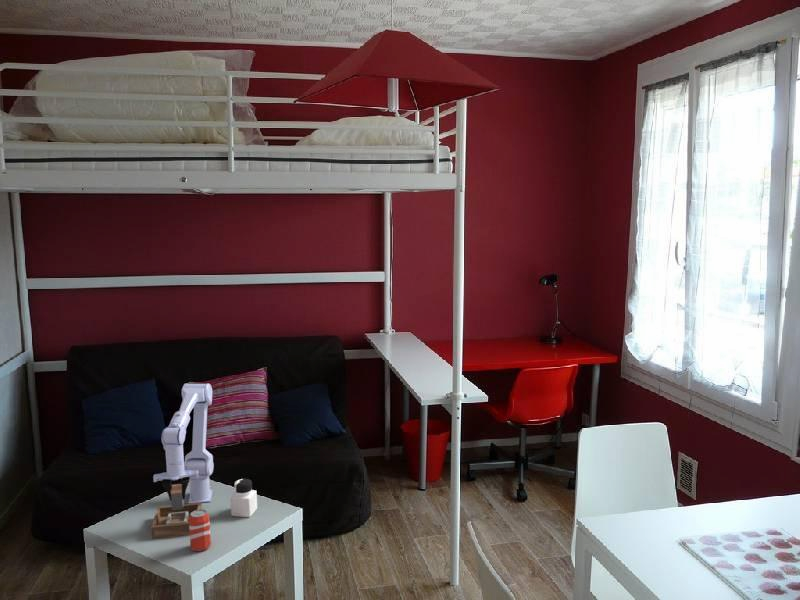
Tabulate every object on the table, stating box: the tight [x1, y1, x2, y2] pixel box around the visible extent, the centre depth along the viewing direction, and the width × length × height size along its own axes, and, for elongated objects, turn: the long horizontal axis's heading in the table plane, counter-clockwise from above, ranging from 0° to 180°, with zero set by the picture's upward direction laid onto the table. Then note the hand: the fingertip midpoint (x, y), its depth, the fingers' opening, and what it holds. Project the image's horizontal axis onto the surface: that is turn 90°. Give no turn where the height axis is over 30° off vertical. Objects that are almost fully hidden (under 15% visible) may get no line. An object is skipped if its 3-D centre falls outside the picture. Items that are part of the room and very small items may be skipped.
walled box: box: [150, 502, 203, 540], centre depth 231 cm, size 15×15×4 cm
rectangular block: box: [171, 483, 185, 510], centre depth 229 cm, size 5×4×7 cm
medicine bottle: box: [230, 478, 258, 518], centre depth 239 cm, size 7×7×12 cm
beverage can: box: [189, 508, 212, 552], centre depth 215 cm, size 6×6×12 cm
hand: (177, 498), depth 229 cm, fingers closed on rectangular block, 3 cm apart
